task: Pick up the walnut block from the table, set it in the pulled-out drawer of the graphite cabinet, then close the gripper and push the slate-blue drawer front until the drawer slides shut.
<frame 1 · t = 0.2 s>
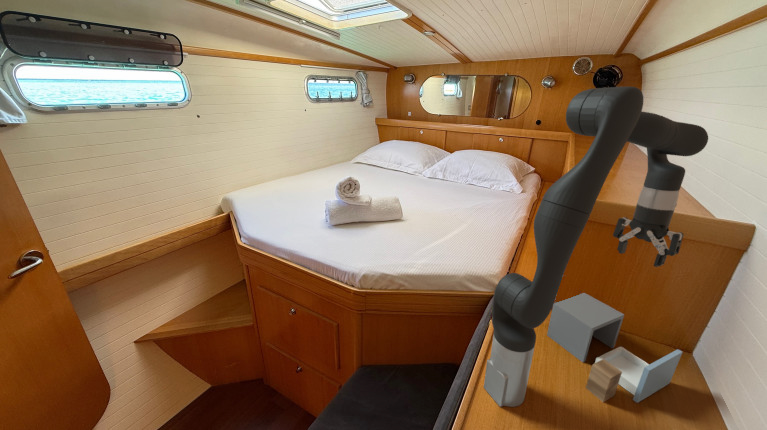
hand: (638, 259, 84), 29 cm above the table, tool pointing down, fingers open, 8 cm apart
drawer: (633, 360, 79), point 6 cm above the table, slide at 12.5 cm
cabinet: (579, 341, 93), on the table
block: (599, 391, 77), on the table
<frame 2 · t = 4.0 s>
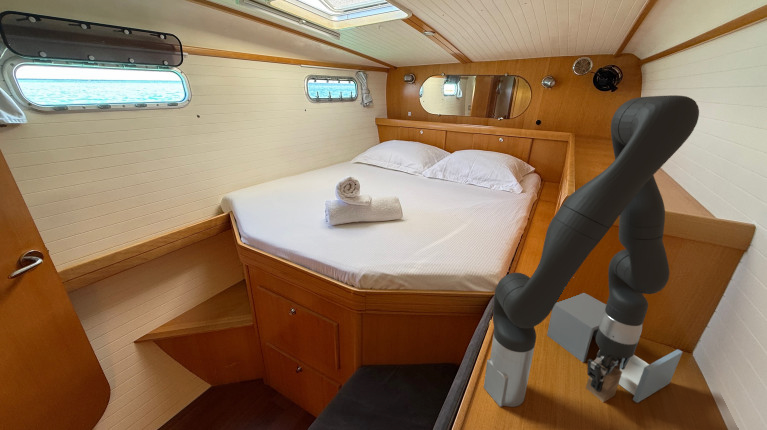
hand: (602, 385, 76), 2 cm above the table, tool pointing down, fingers closed on block, 4 cm apart
block: (599, 391, 77), on the table, touching gripper
everything else where it was.
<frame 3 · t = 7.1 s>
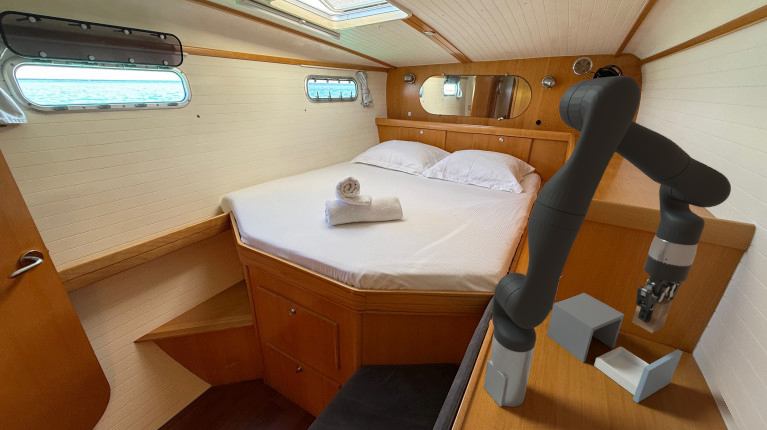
hand: (649, 317, 74), 20 cm above the table, tool pointing down, fingers closed on block, 4 cm apart
block: (647, 324, 75), point 17 cm above the table, touching gripper
everything else where it was.
when the fingers open (4 cm above the table, at t = 10.4 s): block stays where it is, resting on drawer.
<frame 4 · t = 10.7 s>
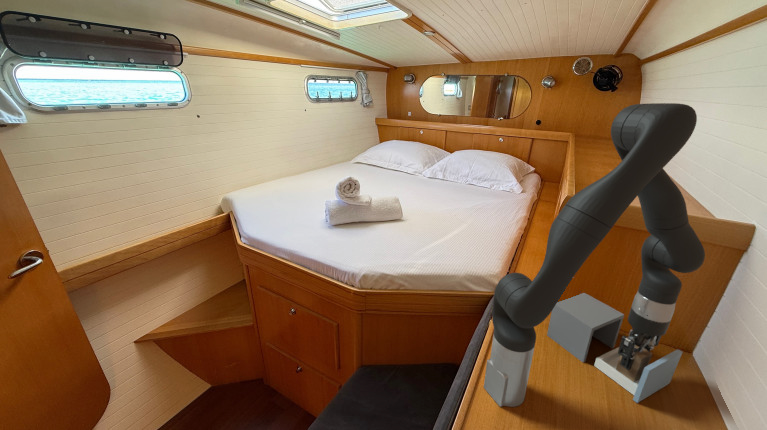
hand: (633, 362, 80), 5 cm above the table, tool pointing down, fingers open, 6 cm apart
drawer: (633, 360, 79), point 6 cm above the table, slide at 12.5 cm, touching block
block: (629, 373, 81), point 1 cm above the table, touching drawer
everything else where it was.
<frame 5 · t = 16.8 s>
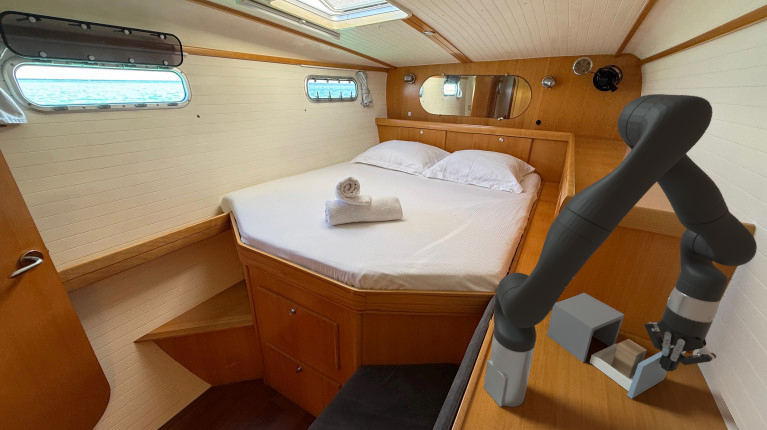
hand: (666, 368, 73), 9 cm above the table, tool pointing down, fingers closed
drawer: (628, 356, 80), point 6 cm above the table, slide at 11.2 cm, touching block, gripper
block: (624, 369, 82), point 1 cm above the table, touching drawer
everything else where it was.
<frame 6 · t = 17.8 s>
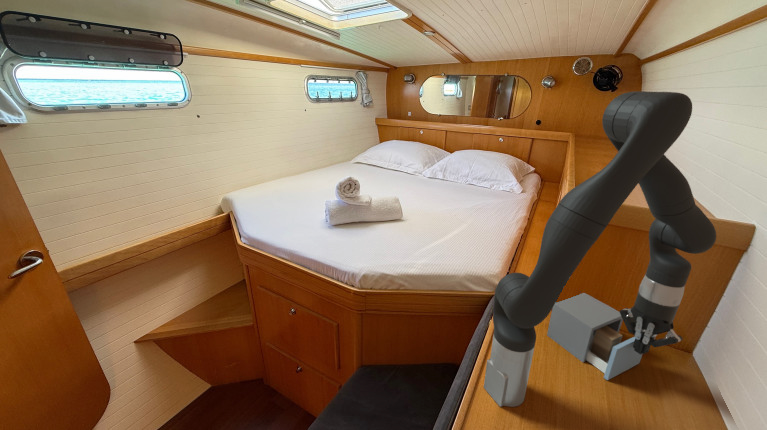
hand: (639, 351, 78), 9 cm above the table, tool pointing down, fingers closed
drawer: (606, 342, 85), point 5 cm above the table, slide at 5.4 cm, touching block, gripper
block: (602, 354, 87), point 1 cm above the table, touching drawer
everything else where it was.
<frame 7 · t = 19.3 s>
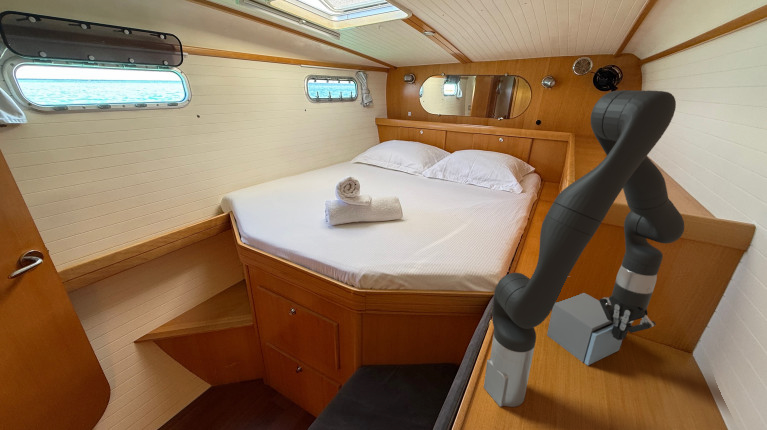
hand: (617, 337, 82), 9 cm above the table, tool pointing down, fingers closed
drawer: (588, 330, 90), point 6 cm above the table, slide at 0.1 cm, touching block, gripper
block: (585, 342, 92), point 1 cm above the table, touching drawer
everything else where it was.
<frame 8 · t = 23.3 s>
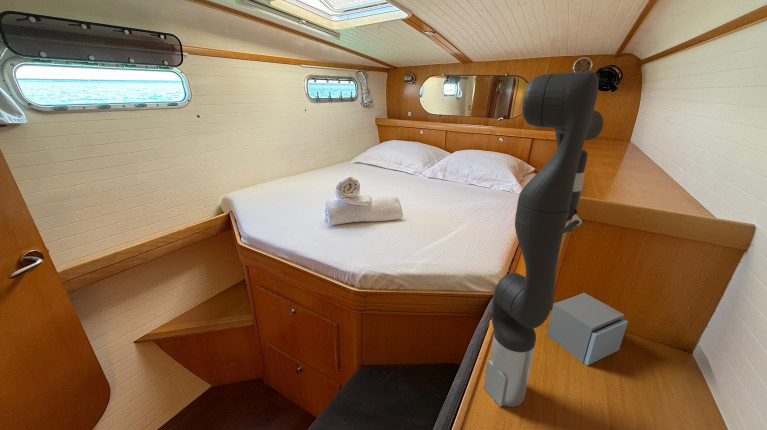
hand: (555, 242, 89), 31 cm above the table, tool pointing down, fingers closed
drawer: (587, 330, 90), point 6 cm above the table, slide at 0.0 cm, touching block
everything else where it was.
at the end: drawer slide at 0.0 cm; block inside the target area (0.5 cm from its centre), point 1.0 cm above the table; block tilted 0° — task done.
